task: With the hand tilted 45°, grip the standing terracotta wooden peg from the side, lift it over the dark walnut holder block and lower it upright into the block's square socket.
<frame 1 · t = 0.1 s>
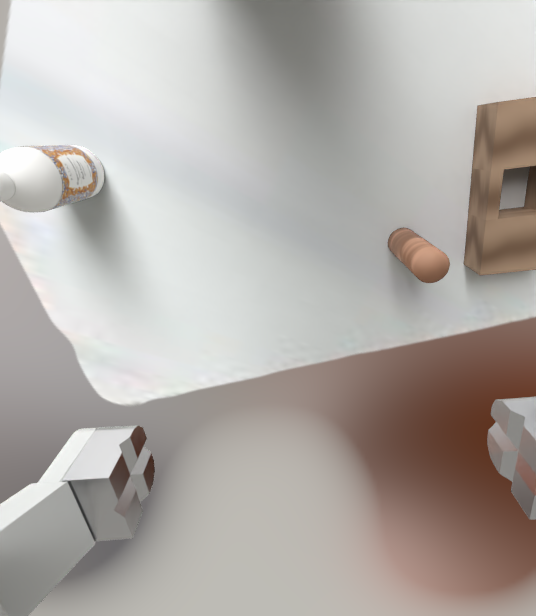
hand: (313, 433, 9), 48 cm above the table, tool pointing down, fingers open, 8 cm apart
bath foam: (81, 172, 53), on the table
peg: (401, 241, 55), on the table
socket block: (504, 187, 52), on the table
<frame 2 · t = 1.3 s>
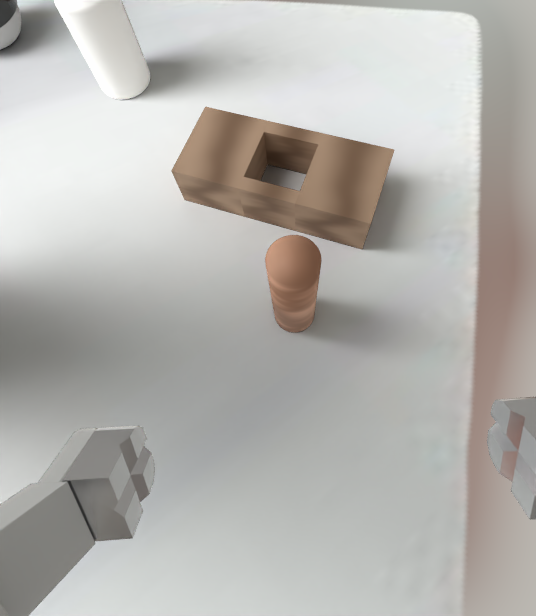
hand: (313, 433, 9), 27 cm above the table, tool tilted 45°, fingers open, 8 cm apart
pump dispenser: (1, 38, 56), on the table
peg: (294, 313, 38), on the table
socket block: (283, 191, 43), on the table
white bottle: (127, 83, 51), on the table
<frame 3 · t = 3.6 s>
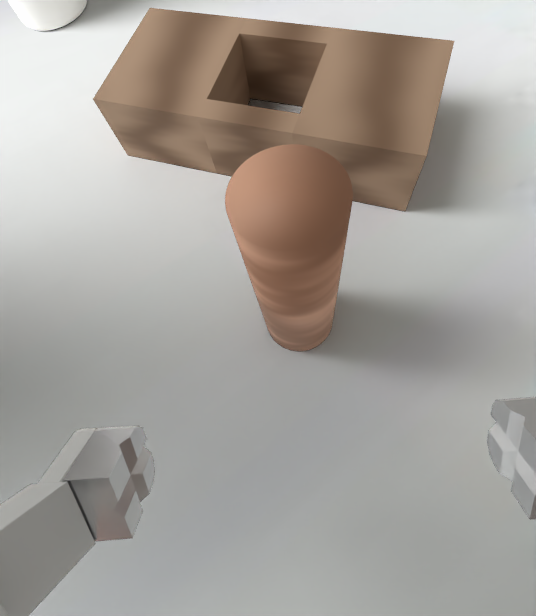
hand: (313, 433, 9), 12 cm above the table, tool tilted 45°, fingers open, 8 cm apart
peg: (299, 319, 23), on the table
socket block: (274, 133, 28), on the table
white bottle: (56, 11, 37), on the table
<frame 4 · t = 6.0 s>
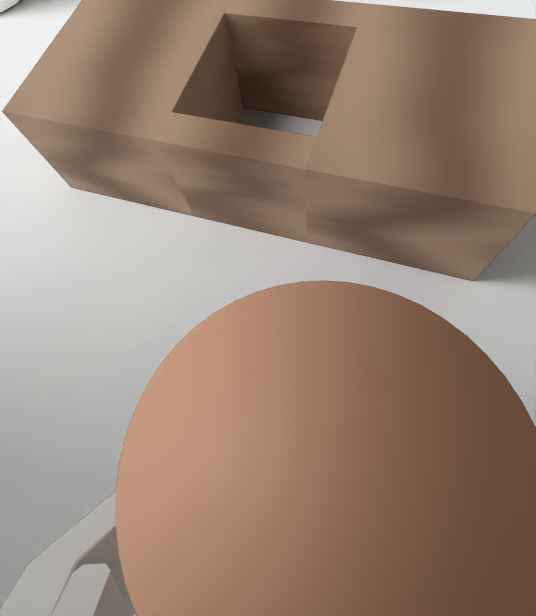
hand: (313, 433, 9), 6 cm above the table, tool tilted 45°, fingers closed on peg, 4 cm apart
peg: (314, 458, 15), on the table, touching gripper
socket block: (276, 157, 20), on the table
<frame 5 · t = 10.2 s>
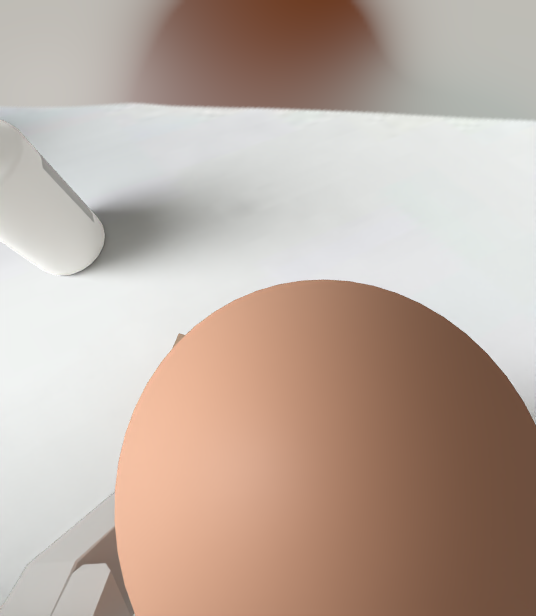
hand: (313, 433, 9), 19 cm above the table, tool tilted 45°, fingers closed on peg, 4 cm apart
peg: (314, 458, 15), point 13 cm above the table, touching gripper
white bottle: (72, 245, 35), on the table
when the fingers open (8 cm above the table, at t = 12.9 s): peg drops 1 cm, resting in socket block.
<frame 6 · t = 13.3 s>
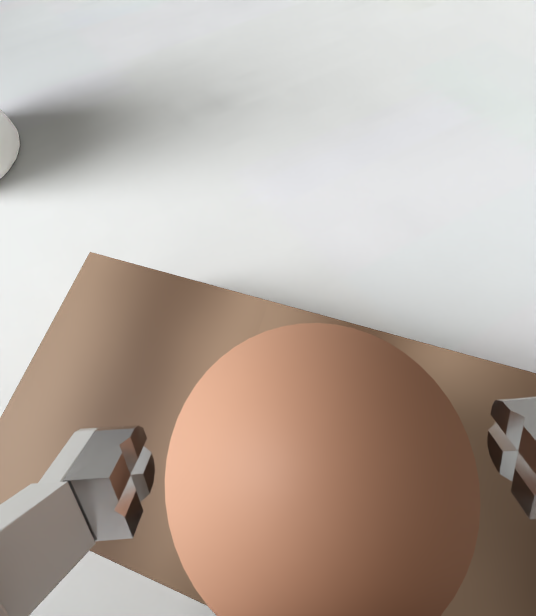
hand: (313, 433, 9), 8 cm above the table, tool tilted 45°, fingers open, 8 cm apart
peg: (313, 458, 16), resting in socket block
socket block: (315, 458, 16), on the table
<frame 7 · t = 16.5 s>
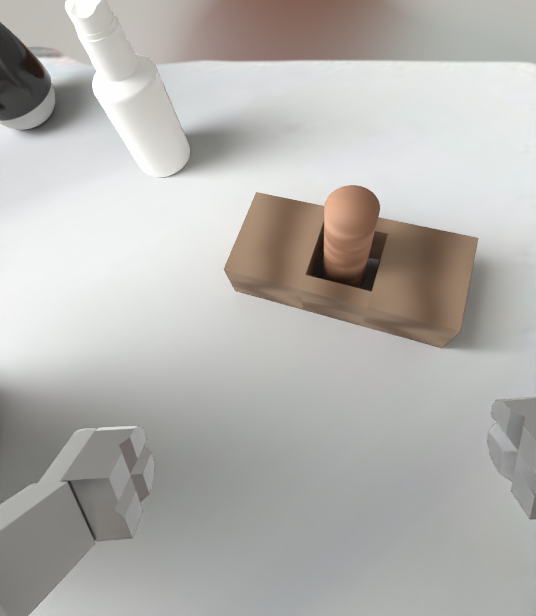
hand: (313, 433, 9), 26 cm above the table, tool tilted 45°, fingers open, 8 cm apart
pump dispenser: (35, 115, 55), on the table
peg: (343, 278, 39), resting in socket block
socket block: (343, 278, 39), on the table
white bottle: (165, 158, 48), on the table
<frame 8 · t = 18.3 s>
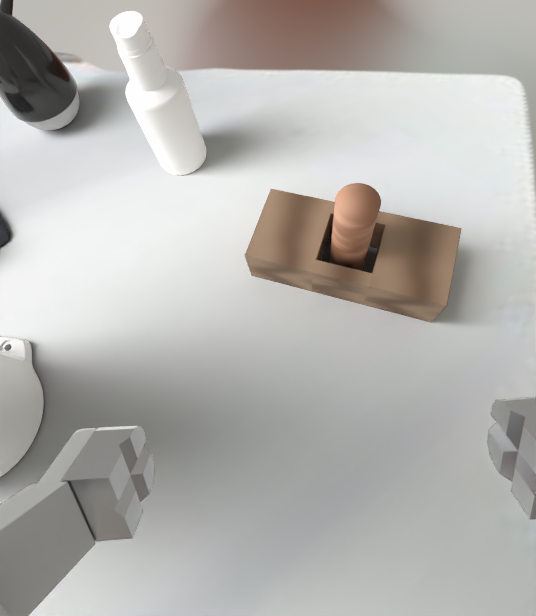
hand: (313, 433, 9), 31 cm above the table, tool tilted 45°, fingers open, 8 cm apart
pump dispenser: (60, 116, 59), on the table
peg: (346, 264, 45), resting in socket block
socket block: (346, 263, 45), on the table
white bottle: (184, 157, 54), on the table
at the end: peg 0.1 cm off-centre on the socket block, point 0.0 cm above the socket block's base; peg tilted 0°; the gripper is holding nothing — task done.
